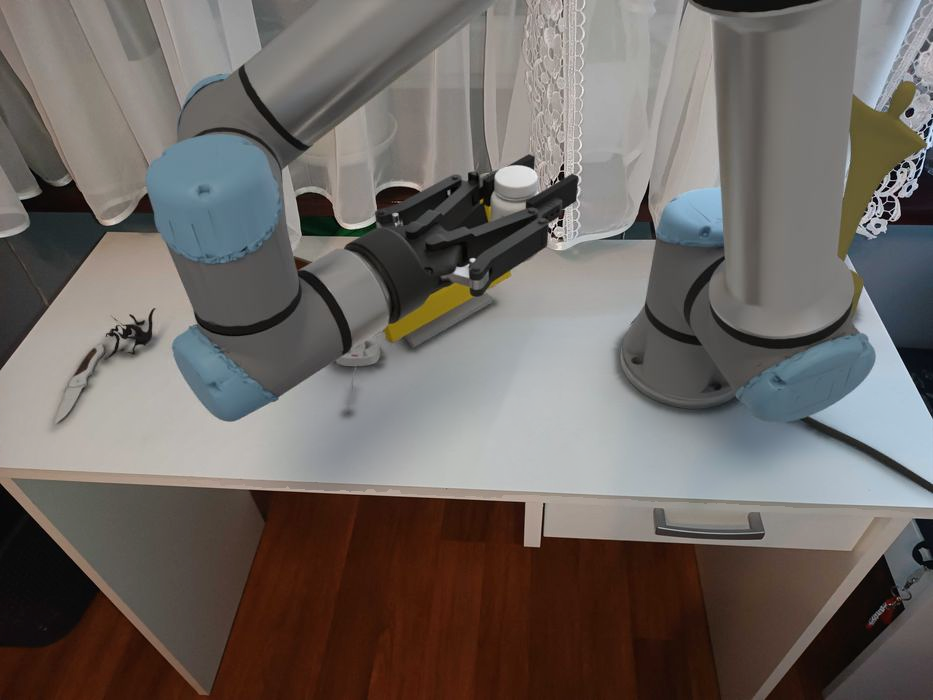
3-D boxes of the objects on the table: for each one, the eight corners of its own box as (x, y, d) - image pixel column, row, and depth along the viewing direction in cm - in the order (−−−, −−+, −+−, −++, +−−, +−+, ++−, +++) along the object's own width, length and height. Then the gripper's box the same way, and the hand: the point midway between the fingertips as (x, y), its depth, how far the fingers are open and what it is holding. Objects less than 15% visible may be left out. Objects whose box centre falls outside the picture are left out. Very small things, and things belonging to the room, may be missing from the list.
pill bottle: (548, 252, 70) (553, 177, 64) (512, 271, 68) (513, 195, 62) (517, 231, 73) (518, 157, 67) (481, 249, 71) (479, 174, 65)
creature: (95, 364, 93) (138, 367, 90) (71, 334, 90) (115, 336, 87) (133, 326, 99) (175, 327, 95) (111, 296, 95) (154, 296, 92)
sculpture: (875, 302, 94) (952, 72, 74) (863, 332, 89) (942, 96, 70) (788, 281, 99) (840, 62, 80) (773, 309, 95) (824, 84, 75)
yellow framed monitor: (395, 362, 90) (379, 263, 79) (361, 331, 94) (342, 233, 83) (512, 295, 99) (512, 197, 88) (476, 269, 103) (472, 173, 92)
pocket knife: (109, 348, 94) (94, 347, 94) (107, 343, 94) (92, 342, 94) (64, 426, 84) (47, 426, 84) (62, 422, 84) (45, 421, 84)
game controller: (377, 340, 93) (374, 326, 91) (394, 404, 85) (392, 389, 83) (334, 349, 92) (330, 335, 90) (347, 414, 84) (344, 400, 82)
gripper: (310, 276, 65) (487, 178, 76) (441, 373, 56) (621, 245, 67) (294, 207, 60) (487, 112, 71) (435, 301, 50) (632, 175, 62)
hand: (552, 177), depth 69 cm, fingers closed on pill bottle, 5 cm apart
